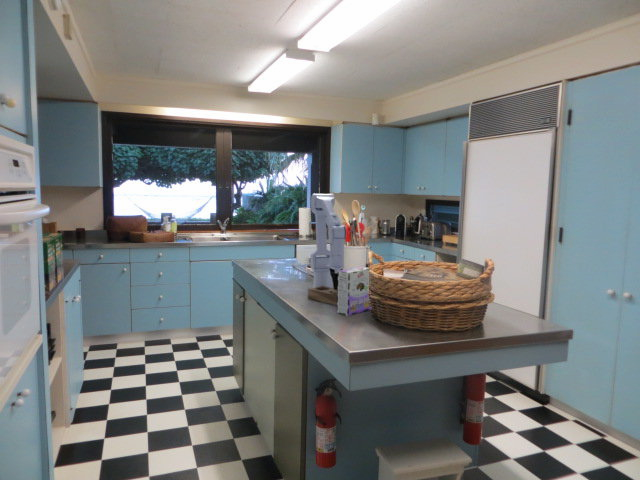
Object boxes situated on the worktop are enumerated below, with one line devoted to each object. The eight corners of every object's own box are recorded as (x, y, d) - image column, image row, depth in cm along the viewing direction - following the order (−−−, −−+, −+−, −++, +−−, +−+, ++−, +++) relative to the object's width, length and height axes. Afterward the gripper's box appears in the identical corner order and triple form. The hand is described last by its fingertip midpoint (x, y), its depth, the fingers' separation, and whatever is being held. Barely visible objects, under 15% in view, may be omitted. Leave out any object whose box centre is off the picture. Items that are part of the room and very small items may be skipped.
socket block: (322, 294, 203) (322, 285, 202) (350, 301, 192) (350, 291, 191) (308, 298, 196) (308, 288, 196) (335, 305, 185) (335, 295, 185)
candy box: (360, 306, 184) (361, 265, 182) (371, 309, 179) (372, 268, 177) (336, 313, 174) (337, 270, 172) (348, 316, 170) (348, 272, 168)
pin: (335, 297, 193) (336, 279, 193) (340, 299, 191) (341, 280, 190) (330, 298, 191) (331, 279, 191) (335, 300, 189) (336, 280, 188)
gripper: (326, 252, 196) (326, 283, 198) (327, 257, 182) (327, 291, 183) (343, 252, 196) (342, 283, 198) (345, 257, 182) (344, 291, 184)
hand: (336, 287), depth 191 cm, fingers open, 7 cm apart
